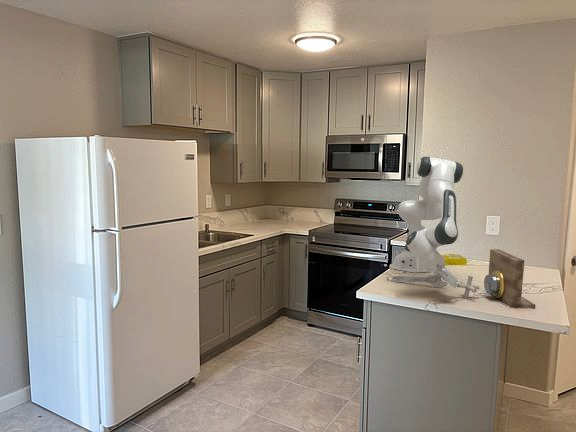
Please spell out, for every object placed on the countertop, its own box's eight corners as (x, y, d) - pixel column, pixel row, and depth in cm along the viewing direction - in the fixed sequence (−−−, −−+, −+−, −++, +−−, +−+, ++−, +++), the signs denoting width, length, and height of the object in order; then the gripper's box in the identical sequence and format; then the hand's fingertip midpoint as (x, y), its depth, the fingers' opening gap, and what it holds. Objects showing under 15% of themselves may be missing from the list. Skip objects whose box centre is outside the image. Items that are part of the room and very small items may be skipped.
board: (510, 307, 182) (514, 260, 180) (487, 291, 206) (490, 249, 204) (535, 308, 182) (539, 260, 180) (508, 291, 206) (512, 249, 203)
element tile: (442, 265, 261) (443, 257, 260) (433, 260, 276) (434, 252, 275) (467, 266, 261) (468, 258, 261) (457, 260, 276) (458, 253, 275)
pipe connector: (449, 292, 199) (454, 271, 197) (469, 293, 201) (474, 273, 199) (461, 300, 189) (467, 278, 187) (482, 302, 191) (487, 280, 189)
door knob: (492, 301, 188) (494, 274, 187) (481, 293, 200) (483, 267, 199) (504, 301, 188) (506, 274, 187) (492, 293, 200) (494, 267, 199)
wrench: (388, 286, 222) (450, 287, 208) (387, 287, 220) (450, 288, 207) (387, 270, 221) (449, 271, 208) (386, 271, 220) (449, 271, 206)
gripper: (447, 263, 183) (469, 287, 183) (434, 254, 203) (454, 276, 203) (435, 273, 183) (457, 297, 184) (423, 263, 204) (443, 285, 204)
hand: (455, 286), depth 194 cm, fingers closed, pressing on pipe connector
